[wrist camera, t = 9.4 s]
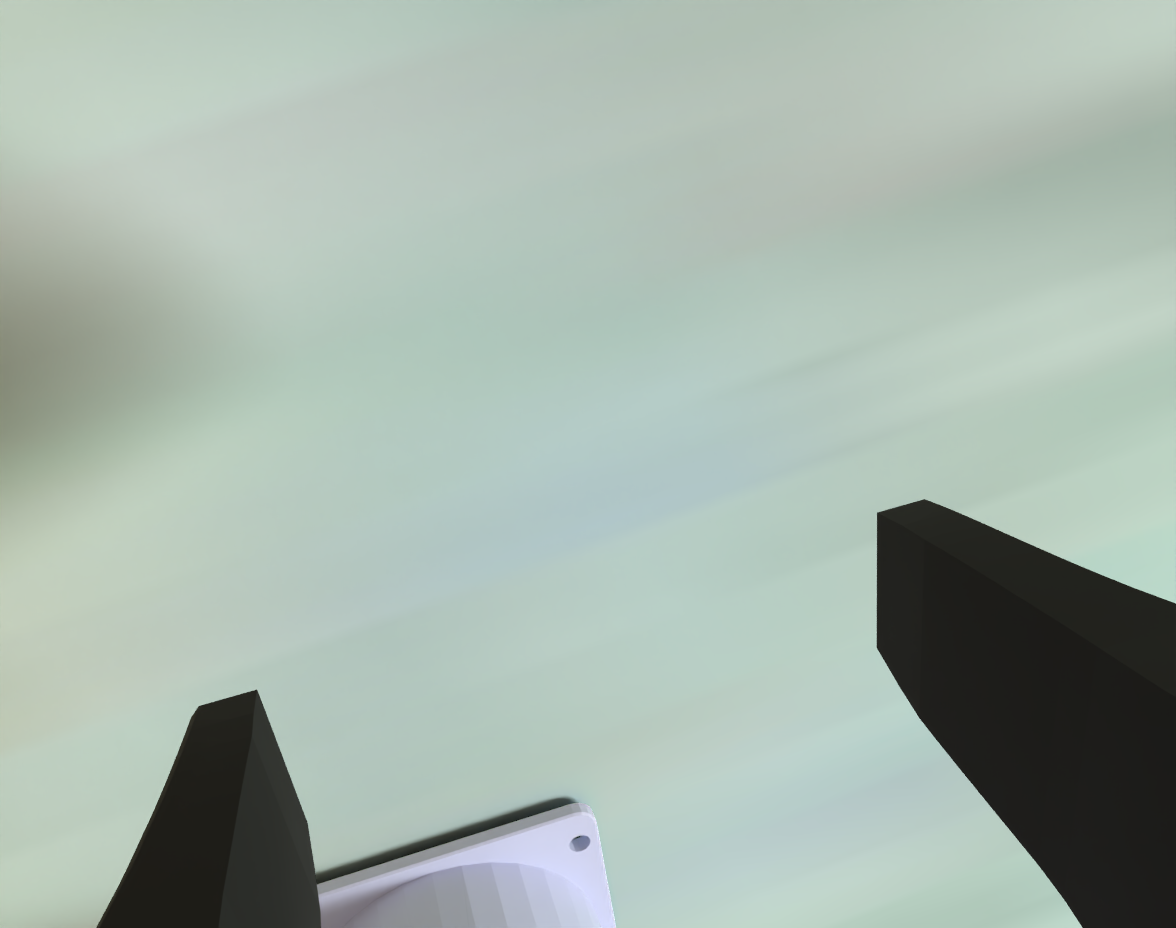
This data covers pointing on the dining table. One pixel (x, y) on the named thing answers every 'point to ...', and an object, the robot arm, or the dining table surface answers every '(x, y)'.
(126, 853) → the dining table surface
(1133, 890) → the robot arm
